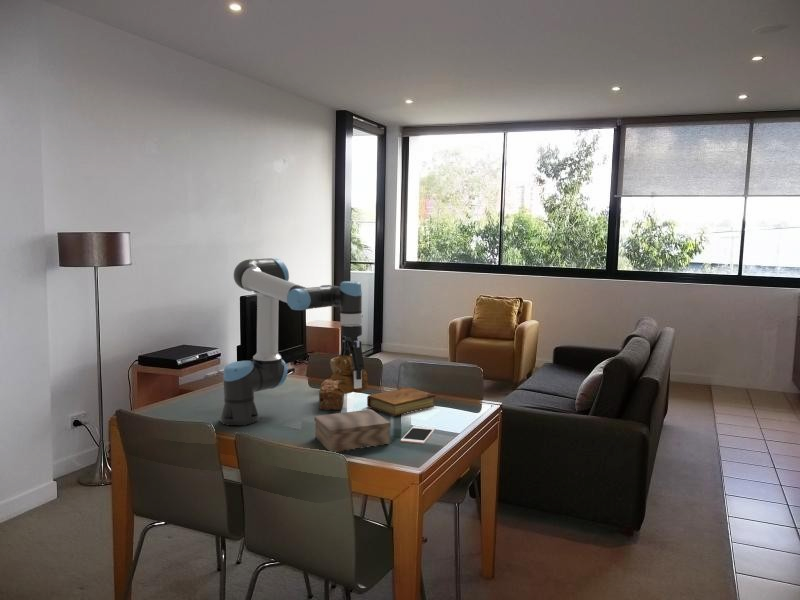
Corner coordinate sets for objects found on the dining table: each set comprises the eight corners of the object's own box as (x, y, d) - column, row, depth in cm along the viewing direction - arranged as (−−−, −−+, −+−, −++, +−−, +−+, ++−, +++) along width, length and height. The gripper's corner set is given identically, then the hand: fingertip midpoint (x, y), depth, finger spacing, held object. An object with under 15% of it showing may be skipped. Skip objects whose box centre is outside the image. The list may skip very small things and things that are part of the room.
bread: (322, 399, 290) (322, 377, 289) (345, 399, 290) (345, 377, 289) (318, 410, 271) (318, 387, 270) (343, 410, 272) (343, 387, 270)
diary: (406, 399, 292) (407, 386, 292) (435, 407, 278) (435, 394, 277) (367, 407, 277) (367, 394, 277) (394, 417, 263) (395, 403, 262)
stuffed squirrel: (338, 386, 238) (338, 352, 237) (374, 389, 234) (374, 354, 232) (327, 393, 229) (327, 357, 227) (363, 396, 224) (363, 359, 223)
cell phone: (435, 430, 246) (435, 427, 246) (423, 444, 229) (423, 442, 229) (413, 428, 249) (413, 425, 249) (400, 442, 232) (400, 440, 232)
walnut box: (330, 453, 220) (329, 430, 219) (314, 437, 236) (314, 416, 235) (390, 444, 229) (390, 422, 228) (371, 429, 246) (371, 409, 245)
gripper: (373, 328, 218) (373, 390, 221) (349, 319, 240) (350, 376, 242) (352, 330, 215) (353, 393, 218) (330, 321, 237) (331, 378, 239)
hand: (351, 384), depth 230 cm, fingers closed on stuffed squirrel, 12 cm apart
